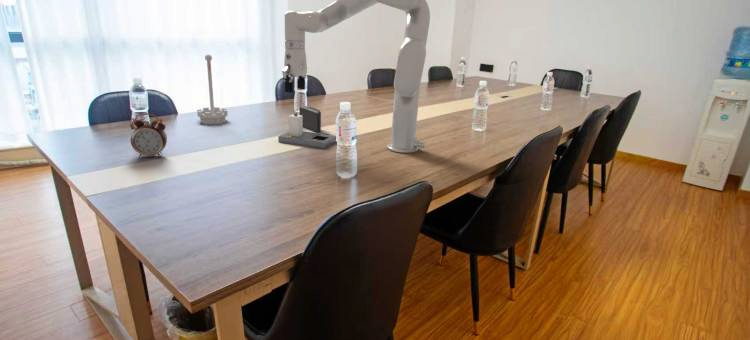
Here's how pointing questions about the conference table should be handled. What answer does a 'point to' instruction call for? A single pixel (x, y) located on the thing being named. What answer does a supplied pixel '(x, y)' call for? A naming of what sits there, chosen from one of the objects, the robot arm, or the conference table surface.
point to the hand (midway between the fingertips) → (295, 90)
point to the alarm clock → (148, 136)
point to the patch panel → (309, 139)
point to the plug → (295, 125)
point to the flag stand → (211, 103)
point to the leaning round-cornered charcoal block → (311, 118)
